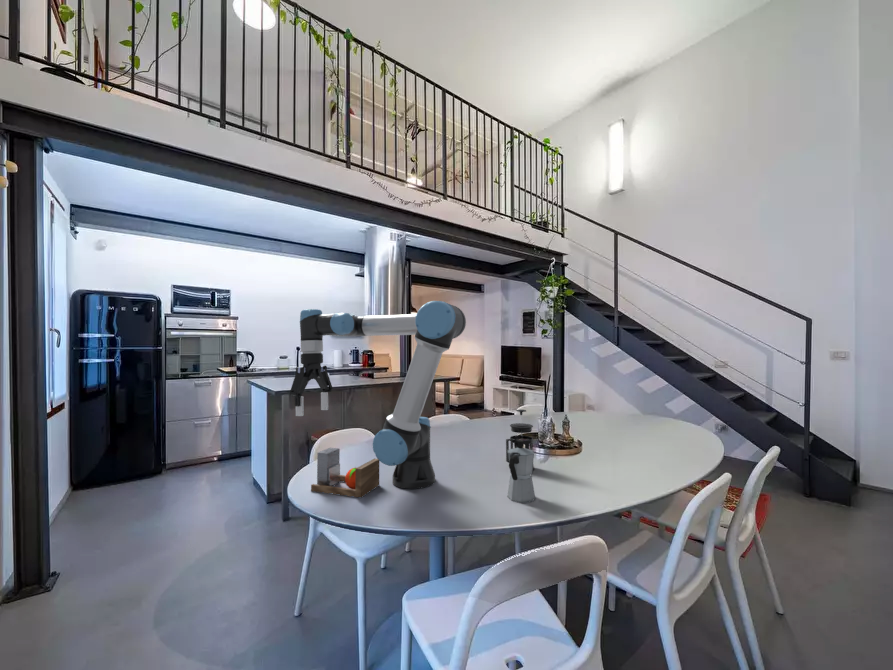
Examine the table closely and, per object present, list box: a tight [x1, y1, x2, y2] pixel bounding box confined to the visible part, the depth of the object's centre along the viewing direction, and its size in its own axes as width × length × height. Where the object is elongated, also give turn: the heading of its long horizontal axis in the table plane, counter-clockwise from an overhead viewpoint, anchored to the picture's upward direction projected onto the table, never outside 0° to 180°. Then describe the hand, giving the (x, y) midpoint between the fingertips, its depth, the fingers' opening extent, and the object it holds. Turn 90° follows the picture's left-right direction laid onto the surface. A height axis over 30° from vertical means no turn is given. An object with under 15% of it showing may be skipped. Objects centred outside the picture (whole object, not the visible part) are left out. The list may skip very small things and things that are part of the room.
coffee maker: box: [506, 439, 536, 504], centre depth 120 cm, size 15×9×18 cm, turn 149°
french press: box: [505, 408, 535, 472], centre depth 151 cm, size 12×9×23 cm
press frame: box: [310, 458, 380, 498], centre depth 130 cm, size 19×12×9 cm, turn 71°
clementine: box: [344, 467, 357, 489], centre depth 129 cm, size 8×7×7 cm
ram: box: [316, 447, 341, 487], centre depth 132 cm, size 5×7×12 cm, turn 161°
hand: (312, 412), depth 135 cm, fingers open, 13 cm apart
